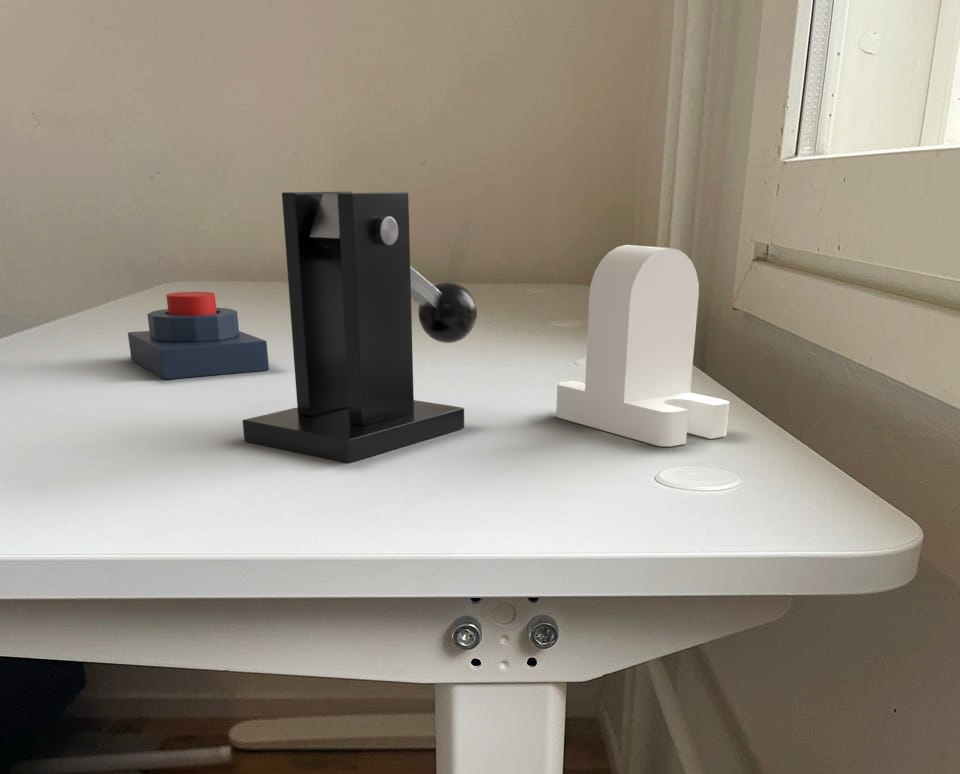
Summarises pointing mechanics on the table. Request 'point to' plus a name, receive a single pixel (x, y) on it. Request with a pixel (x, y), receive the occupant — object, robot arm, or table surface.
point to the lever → (440, 305)
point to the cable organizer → (642, 352)
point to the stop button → (191, 303)
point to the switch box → (197, 345)
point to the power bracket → (351, 335)
